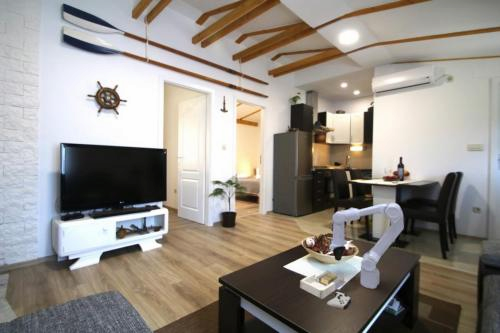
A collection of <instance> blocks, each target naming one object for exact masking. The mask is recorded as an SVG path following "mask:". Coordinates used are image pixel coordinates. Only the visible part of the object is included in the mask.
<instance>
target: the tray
mask: <svg viewBox="0 0 500 333" xmlns="http://www.w3.org/2000/svg"><path fill="white" fill-rule="evenodd" d="M315 279H316V274H315V273H312V274H310V275H307V276H306V277H304V278H302V279H301V280H300V281H299V288H300V289H302V290H303V291H306V292H307V293H309V294H311V295H313V296H315V297H317V298H319V299H320V300H323V299H325V298H326V297H327V296H329V295H330V294H332V293H333V292H335V291H336V290H335V283H334V282H332V283H330V284H329V285H327V286H326V285H324V284H321V283H319V282H317V281H315Z"/></svg>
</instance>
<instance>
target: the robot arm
mask: <svg viewBox="0 0 500 333" xmlns="http://www.w3.org/2000/svg"><path fill="white" fill-rule="evenodd" d="M376 214H378V215H381V216H386V217H387V218H388V220H389V223H390V225H389V227H388V228H387V230H385V232H384V233H383V235H382V236H381V237H380V238H379V239H378V240H377V242H376V243H375V245H374V246H373V247H372V248H371V249H370V250H369V251H368V252H365V253H364V254H363V255H362V256H363V257H362V260H361V263H360V285H362V287H365V288H367V289H376V288H377V287H378V286H379V285H380V270H379V269H378V268H377V264H378V262H379V260H380V259H381V257H382V256H383V254H384V253H385V252H386V251H388V248H390V246H391V245H392V244H393V242H394V241H395V240H396V239H397V238H398V236H399V235H400V234H401V233H402V231H403V230H404V228H405V227H404V213H403V210H402V208H401V206H400V205H399V204H398V203H396V202H389V203H387V202H386V203H381V204H376V205H372V206H369V207H365V208H361V209H359V208H355V207H350V208H349V209H345V210H344V209H341V210H340V211H339V210H338V211H336V212H335V213H334V214H333V215H332V219H331V220H332V222H333V223H332V225H333V226H332V240H331V241H330V243H331V244H330V245H329V246H328V248H329V250H331V251H332V252H333V255H334V256H333V257H334V260H335V261H337V262H340V261H341V260H342V258H343V253H344V252H345V251H346V247H347V246H345V245H347V244H348V240H346V239H345V229H346V228H345V222H346V223H347V222H352V221H357V220H360V218H361V217H364V216H369V215H376Z"/></svg>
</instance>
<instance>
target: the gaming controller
mask: <svg viewBox="0 0 500 333" xmlns="http://www.w3.org/2000/svg"><path fill="white" fill-rule="evenodd" d="M334 295H335V297H334V298H332V299H330V300H328V301H327V303H326V304H327V305H328V306H329V307H332V308H336V309H342V310H346V309H347V307H348V305H349V303H350V302H351V299H352V298H351V297H350V296H348V294H347V293H342V292H340V291H336V292H335V291H334Z"/></svg>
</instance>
